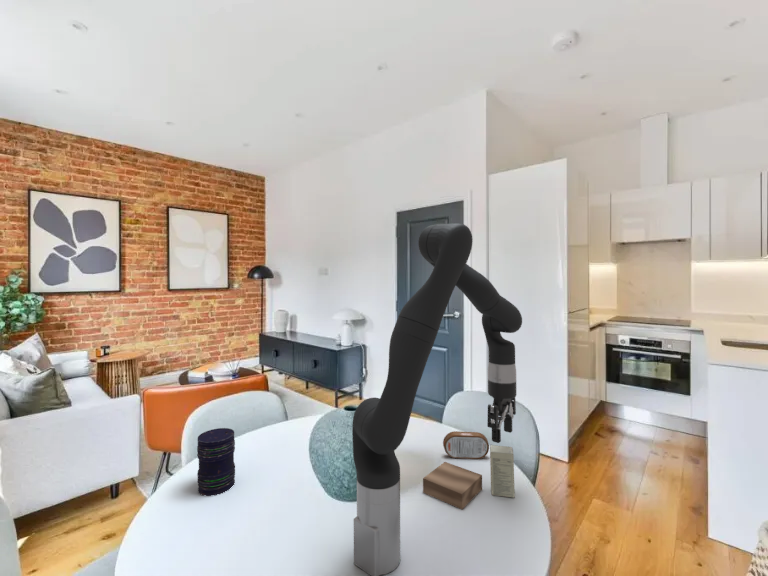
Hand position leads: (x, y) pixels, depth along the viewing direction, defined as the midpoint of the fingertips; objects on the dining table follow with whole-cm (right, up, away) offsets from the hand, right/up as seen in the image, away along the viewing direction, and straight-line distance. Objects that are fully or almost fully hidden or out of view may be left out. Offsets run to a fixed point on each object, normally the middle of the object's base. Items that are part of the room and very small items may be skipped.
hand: (502, 436), depth 100 cm
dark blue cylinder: (-81, -16, +4) cm, 83 cm away
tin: (-5, -16, +20) cm, 26 cm away
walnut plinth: (-14, -16, +1) cm, 21 cm away
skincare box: (0, -16, 0) cm, 16 cm away
